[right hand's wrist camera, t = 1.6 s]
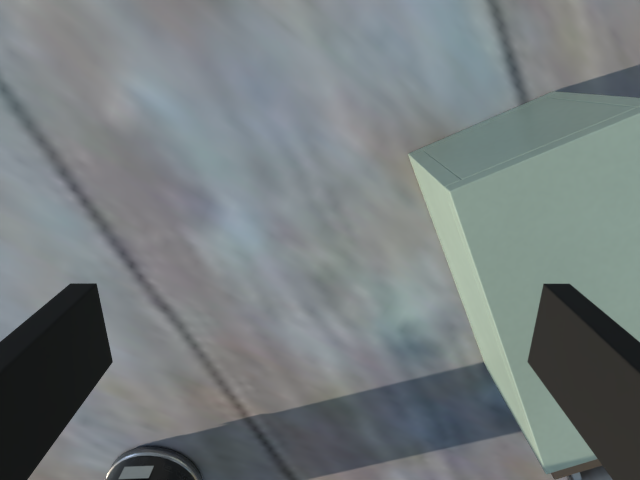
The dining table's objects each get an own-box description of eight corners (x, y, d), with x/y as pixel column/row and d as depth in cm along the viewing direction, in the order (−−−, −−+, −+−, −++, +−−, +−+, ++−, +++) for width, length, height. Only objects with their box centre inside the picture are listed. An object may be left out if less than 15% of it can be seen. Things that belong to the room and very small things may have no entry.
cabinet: (608, 327, 38) (717, 423, 27) (486, 369, 39) (546, 475, 29) (553, 90, 31) (672, 99, 20) (407, 153, 32) (448, 191, 22)
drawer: (625, 406, 40) (708, 496, 31) (520, 439, 41) (572, 534, 32) (562, 140, 31) (654, 166, 22) (432, 194, 32) (472, 237, 24)
